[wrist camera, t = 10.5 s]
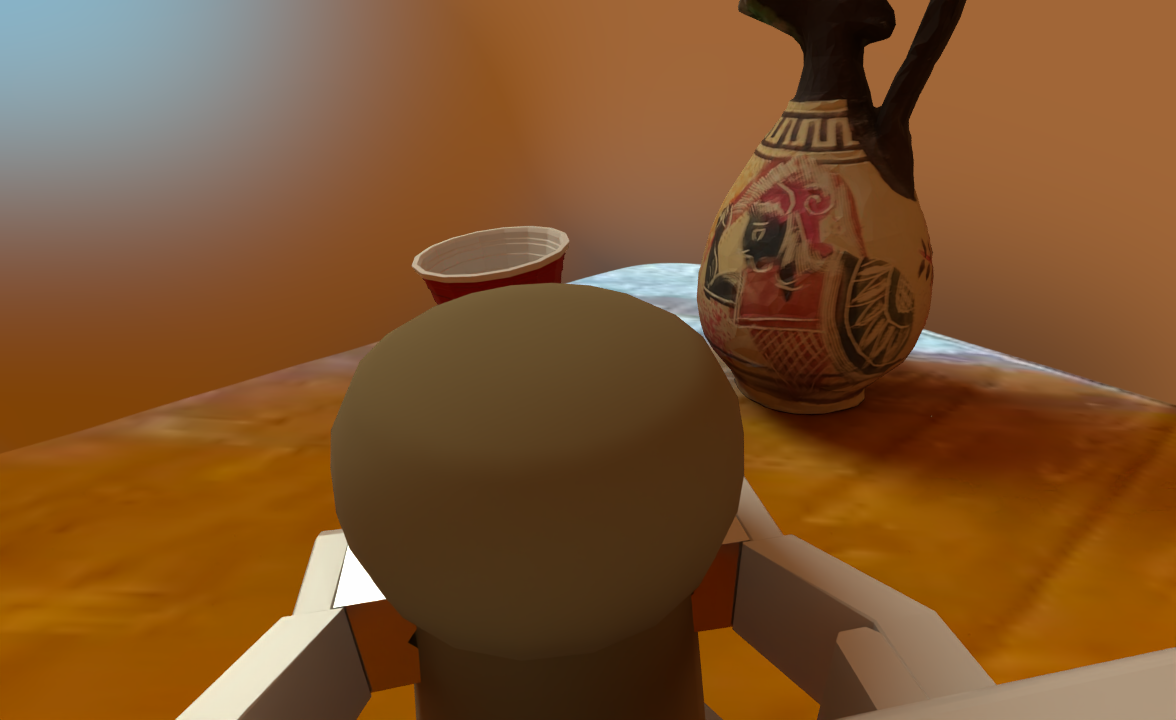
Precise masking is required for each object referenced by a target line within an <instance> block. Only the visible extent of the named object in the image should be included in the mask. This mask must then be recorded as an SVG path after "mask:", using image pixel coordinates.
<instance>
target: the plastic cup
mask: <svg viewBox="0 0 1176 720" xmlns="http://www.w3.org/2000/svg"><path fill="white" fill-rule="evenodd" d="M568 248H569V239H568V237H567V235H566V233H564V232H561V231H559V230H556V229H553V228H546V227H535V226H522V227H504V228H498V229H491V230H484V231H478V232H474V233H470V234H466V235H462V236H458V237H454V238H451V239H448V240H446V241H443V242H441V243H438V244H436V245H433V246H431V247H429V248H427V249H426V250H424V251H423V252H421V253H420V254H419V255H417V256H415V259H414V262H413V264H412V267H413V269H414V270H415V272H416V273H418V274H419V275H420V276H421V277H423V280H424V281H425V282H426V284H427V286H428V289H430V290H431V293H432V295H433V298H434V300H435V302H436V303H437V304H438V305H440V304H443V303H445V302H448V301H451V300H454V299H457V298H459V297H462V296H465V295H468V294H471V293H475V292H480V291H485V290H490V289H495V288H500V287H505V286H510V285H525V284H541V283H560V284H561V272H562V270H563V260H564V255H565V251H566V250H567V249H568Z"/></svg>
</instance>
